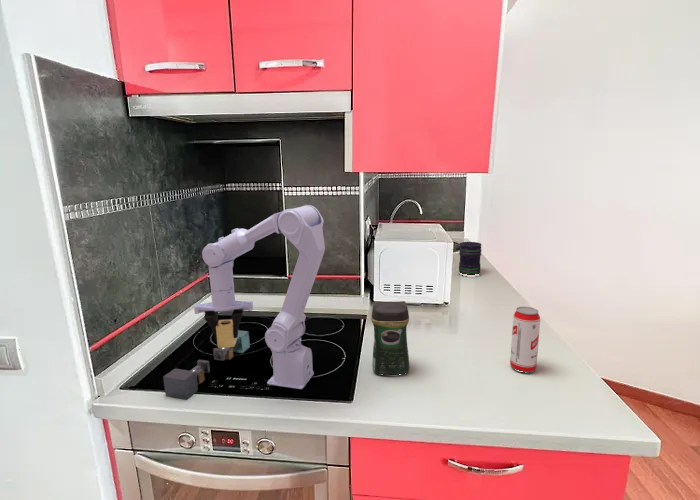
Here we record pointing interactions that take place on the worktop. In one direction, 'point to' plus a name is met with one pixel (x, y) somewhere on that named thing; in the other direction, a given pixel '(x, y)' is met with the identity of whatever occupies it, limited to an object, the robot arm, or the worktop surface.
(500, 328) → the worktop surface
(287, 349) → the robot arm
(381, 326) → the coffee jar
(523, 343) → the beer can
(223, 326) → the block
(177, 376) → the shaft bench
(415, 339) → the worktop surface
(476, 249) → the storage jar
